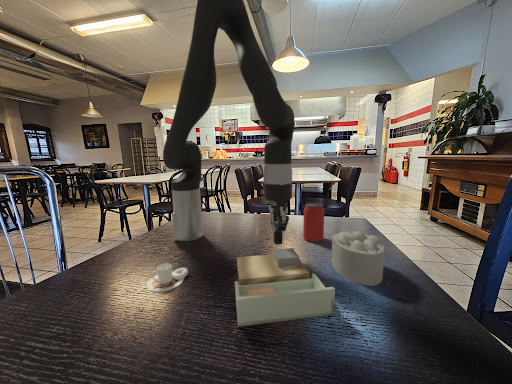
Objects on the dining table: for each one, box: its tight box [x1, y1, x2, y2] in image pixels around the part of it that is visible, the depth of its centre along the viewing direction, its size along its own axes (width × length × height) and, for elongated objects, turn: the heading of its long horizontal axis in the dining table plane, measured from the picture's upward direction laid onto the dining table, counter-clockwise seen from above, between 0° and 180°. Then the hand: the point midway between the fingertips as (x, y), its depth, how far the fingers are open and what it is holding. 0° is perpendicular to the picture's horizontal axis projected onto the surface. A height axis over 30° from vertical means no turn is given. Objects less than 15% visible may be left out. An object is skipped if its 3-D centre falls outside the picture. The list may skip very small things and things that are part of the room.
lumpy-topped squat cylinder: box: [330, 230, 386, 287], centre depth 52 cm, size 10×13×9 cm
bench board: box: [236, 254, 310, 286], centre depth 51 cm, size 15×10×3 cm, turn 98°
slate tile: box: [272, 247, 300, 267], centre depth 52 cm, size 5×5×2 cm
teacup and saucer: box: [145, 263, 189, 293], centre depth 49 cm, size 9×8×4 cm
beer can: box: [302, 202, 325, 243], centre depth 72 cm, size 7×7×12 cm
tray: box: [234, 273, 336, 328], centre depth 41 cm, size 17×8×5 cm, turn 98°
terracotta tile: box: [247, 288, 275, 296], centre depth 40 cm, size 5×5×2 cm
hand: (277, 243), depth 60 cm, fingers closed
